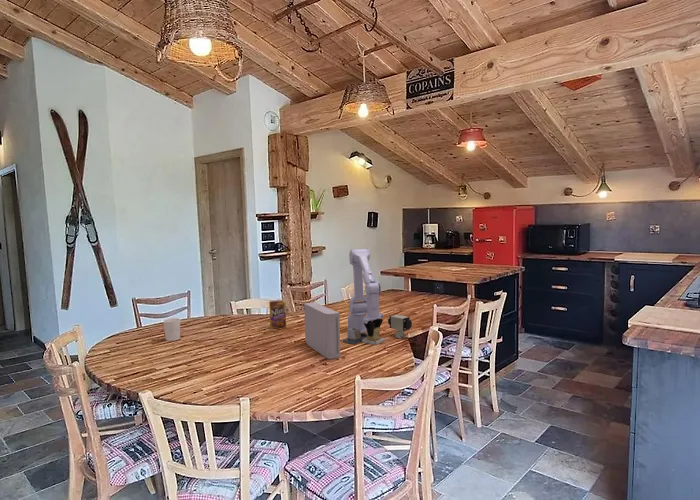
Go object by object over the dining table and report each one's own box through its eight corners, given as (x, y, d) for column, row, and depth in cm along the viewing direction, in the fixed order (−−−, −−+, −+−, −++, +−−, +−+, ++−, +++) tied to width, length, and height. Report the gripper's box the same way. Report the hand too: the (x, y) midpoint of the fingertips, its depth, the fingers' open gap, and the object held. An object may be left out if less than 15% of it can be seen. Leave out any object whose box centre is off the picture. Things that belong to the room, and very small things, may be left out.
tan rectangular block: (366, 339, 221) (366, 327, 220) (371, 337, 224) (371, 325, 224) (374, 341, 218) (374, 328, 218) (379, 339, 222) (379, 326, 221)
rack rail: (342, 343, 220) (342, 339, 220) (363, 335, 234) (363, 332, 234) (354, 345, 216) (354, 342, 216) (374, 337, 230) (374, 334, 230)
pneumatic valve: (406, 341, 222) (406, 316, 221) (387, 336, 230) (387, 313, 229) (413, 338, 226) (413, 314, 225) (394, 334, 234) (394, 311, 233)
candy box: (269, 329, 249) (268, 301, 248) (270, 327, 254) (269, 300, 252) (286, 328, 251) (285, 301, 249) (286, 326, 255) (285, 299, 254)
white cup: (184, 338, 235) (183, 319, 234) (172, 342, 228) (171, 322, 227) (173, 336, 238) (172, 317, 237) (161, 340, 231) (160, 321, 230)
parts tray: (362, 342, 220) (361, 339, 220) (371, 339, 227) (371, 335, 227) (375, 345, 216) (375, 342, 215) (384, 341, 222) (384, 338, 222)
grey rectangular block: (347, 341, 221) (347, 329, 221) (353, 339, 225) (353, 327, 225) (355, 343, 219) (354, 330, 218) (360, 340, 222) (360, 328, 222)
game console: (328, 360, 196) (327, 314, 195) (304, 344, 220) (303, 303, 219) (340, 357, 199) (339, 312, 197) (315, 342, 223) (314, 302, 221)
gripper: (371, 311, 212) (371, 339, 213) (388, 305, 223) (388, 332, 224) (359, 309, 216) (359, 337, 217) (376, 304, 227) (376, 330, 228)
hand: (373, 335), depth 221 cm, fingers closed on tan rectangular block, 4 cm apart
